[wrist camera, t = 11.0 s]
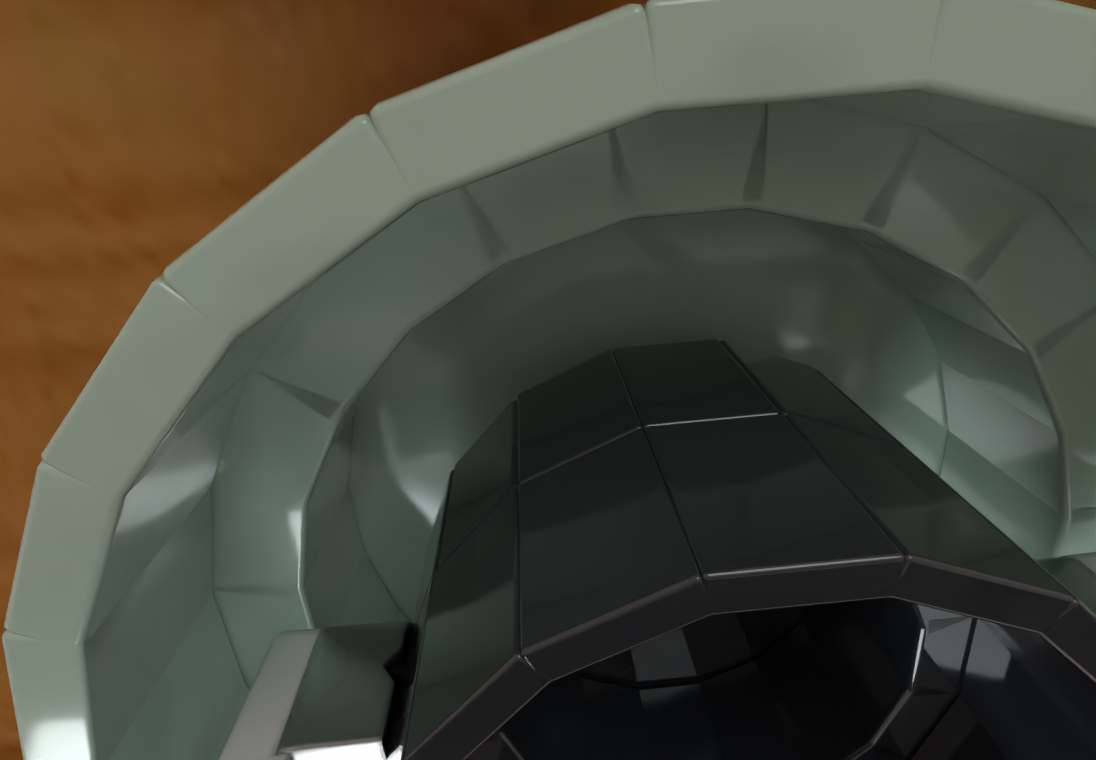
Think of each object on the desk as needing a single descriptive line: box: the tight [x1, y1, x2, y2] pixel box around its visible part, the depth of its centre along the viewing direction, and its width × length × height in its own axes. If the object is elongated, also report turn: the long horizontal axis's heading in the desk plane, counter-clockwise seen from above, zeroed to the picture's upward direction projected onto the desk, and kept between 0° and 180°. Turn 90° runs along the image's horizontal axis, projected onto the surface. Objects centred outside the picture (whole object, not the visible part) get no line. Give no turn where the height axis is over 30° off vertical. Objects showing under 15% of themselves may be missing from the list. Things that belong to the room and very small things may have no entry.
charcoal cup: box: [386, 339, 1096, 760], centre depth 7 cm, size 6×6×5 cm
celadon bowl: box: [2, 0, 1096, 760], centre depth 9 cm, size 13×13×6 cm
